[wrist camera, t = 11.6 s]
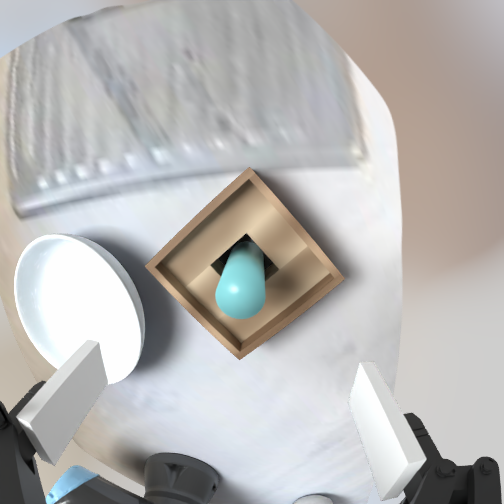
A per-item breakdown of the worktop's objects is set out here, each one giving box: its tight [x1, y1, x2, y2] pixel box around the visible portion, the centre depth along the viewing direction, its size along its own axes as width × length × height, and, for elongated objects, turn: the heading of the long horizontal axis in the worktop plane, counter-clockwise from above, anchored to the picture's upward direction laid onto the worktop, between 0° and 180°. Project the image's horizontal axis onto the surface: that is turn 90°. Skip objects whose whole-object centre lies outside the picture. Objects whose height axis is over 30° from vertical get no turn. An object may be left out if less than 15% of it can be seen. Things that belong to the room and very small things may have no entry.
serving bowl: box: [14, 234, 145, 385], centre depth 34 cm, size 21×21×7 cm
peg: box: [215, 242, 265, 319], centre depth 29 cm, size 4×4×12 cm
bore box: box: [145, 167, 345, 360], centre depth 32 cm, size 15×15×6 cm
